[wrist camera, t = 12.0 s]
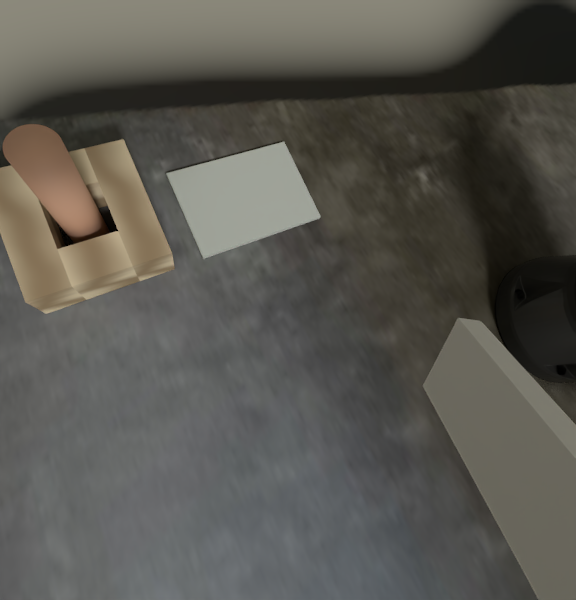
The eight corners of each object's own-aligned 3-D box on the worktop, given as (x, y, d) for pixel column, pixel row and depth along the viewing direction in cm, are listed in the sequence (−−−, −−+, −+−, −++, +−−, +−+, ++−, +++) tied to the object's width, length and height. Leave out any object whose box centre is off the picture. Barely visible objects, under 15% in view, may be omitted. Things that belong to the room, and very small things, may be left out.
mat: (283, 143, 45) (284, 141, 44) (319, 218, 44) (320, 216, 43) (166, 175, 41) (166, 173, 40) (203, 259, 39) (203, 257, 39)
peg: (102, 214, 38) (53, 118, 25) (115, 244, 38) (71, 163, 24) (66, 225, 37) (-6, 131, 24) (79, 256, 37) (13, 178, 23)
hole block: (131, 166, 40) (123, 139, 36) (174, 268, 38) (172, 253, 34) (3, 199, 36) (-22, 172, 32) (46, 313, 35) (25, 302, 30)
